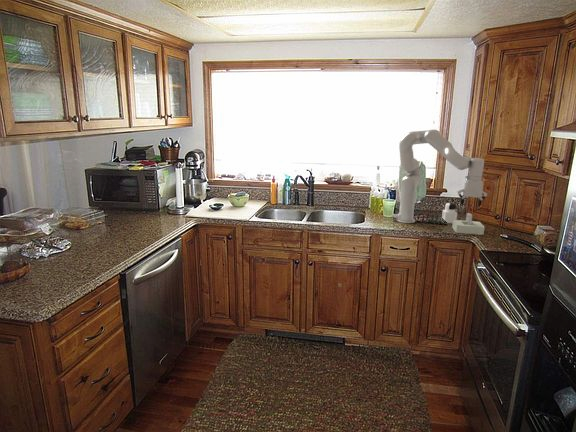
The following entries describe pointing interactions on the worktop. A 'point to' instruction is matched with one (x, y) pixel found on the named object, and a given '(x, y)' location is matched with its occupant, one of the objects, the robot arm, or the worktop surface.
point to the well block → (468, 227)
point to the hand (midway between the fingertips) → (470, 205)
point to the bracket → (468, 219)
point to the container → (449, 213)
